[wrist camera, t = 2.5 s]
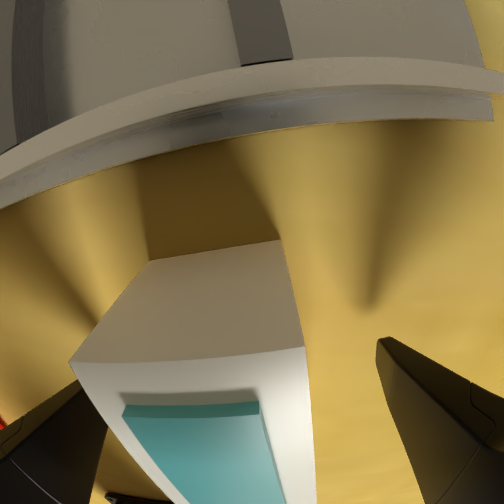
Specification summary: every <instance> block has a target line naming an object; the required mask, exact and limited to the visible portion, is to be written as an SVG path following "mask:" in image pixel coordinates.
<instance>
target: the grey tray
mask: <svg viewBox="0 0 504 504" xmlns="http://www.w3.org/2000/svg"><path fill="white" fill-rule="evenodd" d="M502 99H504V73H502V72H497V71H493V70H488V69H485V68H484V63H483V59H482V55H481V51H480V48H479V44H478V41H477V37H476V34H475V31H474V28H473V24H472V21H471V18H470V16H469V13H468V10H467V7H466V5H465V2H464V0H0V210H1V209H3V208H6V207H8V206H10V205H12V204H15V203H17V202H19V201H22V200H24V199H26V198H29V197H31V196H34V195H36V194H39V193H41V192H44V191H46V190H49V189H52V188H54V187H57V186H60V185H62V184H65V183H68V182H71V181H73V180H76V179H79V178H82V177H85V176H88V175H91V174H94V173H97V172H100V171H103V170H107V169H110V168H113V167H116V166H120V165H123V164H126V163H130V162H133V161H137V160H140V159H144V158H148V157H151V156H155V155H159V154H163V153H167V152H171V151H175V150H179V149H183V148H188V147H192V146H197V145H201V144H206V143H211V142H215V141H220V140H226V139H231V138H236V137H242V136H247V135H253V134H259V133H265V132H272V131H279V130H286V129H293V128H301V127H309V126H318V125H328V124H339V123H351V122H366V121H385V120H465V121H494V118H493V110H492V104H491V100H502Z"/></svg>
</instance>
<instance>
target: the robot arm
mask: <svg viewBox="0 0 504 504" xmlns="http://www.w3.org/2000/svg"><path fill="white" fill-rule="evenodd" d="M376 366H377V370H378V373H379V377H380V380H381V383H382V387H383V390H384V394H385V398H386V401H387V405H388V407H389V410H390V412H391V415H392V417H393V420H394V422H395V425H396V427H397V430H398V432H399V435H400V437H401V440H402V442H403V445H404V447H405V450H406V452H407V455H408V458H409V460H410V463H411V466H412V468H413V471H414V474H415V476H416V479H417V482H418V485H419V488H420V490H421V493H422V496H423V499H424V502H425V504H504V398H502V397H500V396H498V395H495V394H493V393H491V392H489V391H487V390H485V389H484V388H482V387H480V386H478V385H476V384H474V383H473V382H471V383H470V381H469V380H467V379H465V378H463V377H462V376H460V375H458V374H456V373H455V372H453V371H451V370H449V369H447V368H446V367H444V366H442V365H440V364H439V363H437V362H435V361H433V360H431V359H430V358H428V357H426V356H424V355H423V354H421V353H419V352H417V351H415V350H414V349H412V348H410V347H408V346H407V345H405V344H403V343H401V342H399V341H398V340H396V339H394V338H392V337H390V336H389V337H384V338H380V339H378V341H377V347H376ZM107 429H108V425H107V423H106V422H105V420H104V419H103V417H102V416H101V415H100V413H99V412H98V410H97V409H96V407H95V406H94V404H93V403H92V401H91V400H90V398H89V396H88V395H87V393H86V392H85V390H84V388H83V387H82V385H81V383H80V382H79V380H78V379H77V380H76V381H74V382H73V383H71V384H70V385H68V386H67V387H65V388H64V389H62V390H61V391H59V392H58V393H56V394H55V395H53V396H52V397H50V398H49V399H47V400H46V401H44V402H43V403H41V404H40V405H38V406H37V407H35V408H34V409H32V410H31V411H29V412H28V413H27V414H25V415H24V416H22V417H20V418H19V419H17V420H16V421H14V422H13V423H11V424H10V425H8V426H6V427H5V428H3V429H1V430H0V504H89V502H90V497H91V493H92V488H93V484H94V480H95V475H96V471H97V467H98V463H99V459H100V455H101V452H102V448H103V444H104V440H105V437H106V433H107ZM104 498H105V499H107V500H108V501H109V502H110V503H111V504H172V503H163V502H156V501H148V500H142V499H136V498H130V497H125V496H120V495H115V494H111V493H106V494H105V497H104Z"/></svg>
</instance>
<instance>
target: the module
mask: <svg viewBox="0 0 504 504" xmlns="http://www.w3.org/2000/svg"><path fill="white" fill-rule="evenodd" d="M68 363H69V365H70V366H71V368H72V370H73V372H74V373H75V375H76V377H77V378H78V380H79V382H80V383H81V385H82V387H83V388H84V390H85V392H86V393H87V395H88V396H89V398H90V400H91V401H92V403H93V404H94V406H95V407H96V409H97V410H98V412H99V413H100V415H101V416H102V417H103V419H104V420H105V422H106V423H107V425H108V426H109V427H110V429H111V430H112V431H113V433H114V434H115V435H116V437H117V438H118V439H119V441H120V442H121V443H122V445H123V446H124V447H125V449H126V450H127V451H128V452H129V454H130V455H131V456H132V457H133V458H134V460H135V461H136V462H137V463H138V464H139V466H140V467H141V468H142V469H143V470H144V471H145V473H146V474H147V475H148V476H149V477H150V478H151V479H152V480H153V481H154V483H155V484H156V485H157V486H158V487H159V488H160V489H161V490H162V491H163V492H164V493H165V494H166V495H167V496H168V497H169V498H170V499H171V500H172V501H173V502H174V503H175V504H317V503H316V480H315V461H314V445H313V431H312V417H311V405H310V393H309V381H308V371H307V360H306V350H305V343H304V339H303V334H302V329H301V325H300V320H299V315H298V311H297V306H296V302H295V297H294V293H293V288H292V284H291V279H290V275H289V271H288V266H287V262H286V258H285V253H284V249H283V245H282V241H281V239H280V240H274V241H268V242H261V243H255V244H249V245H243V246H236V247H230V248H224V249H218V250H212V251H206V252H200V253H194V254H187V255H181V256H175V257H169V258H163V259H157V260H151V261H149V262H148V263H147V264H146V265H145V266H144V268H143V269H142V270H141V271H140V272H139V273H138V275H137V276H136V277H135V278H134V279H133V281H132V282H131V283H130V284H129V285H128V287H127V288H126V289H125V290H124V291H123V293H122V294H121V295H120V296H119V297H118V299H117V300H116V301H115V302H114V304H113V305H112V306H111V307H110V309H109V310H108V311H107V312H106V314H105V315H104V316H103V317H102V319H101V320H100V321H99V322H98V324H97V325H96V326H95V328H94V329H93V330H92V331H91V333H90V334H89V335H88V337H87V338H86V339H85V341H84V342H83V343H82V344H81V346H80V347H79V348H78V350H77V351H76V352H75V354H74V355H73V357H72V358H71V359H70V361H69V362H68Z"/></svg>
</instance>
